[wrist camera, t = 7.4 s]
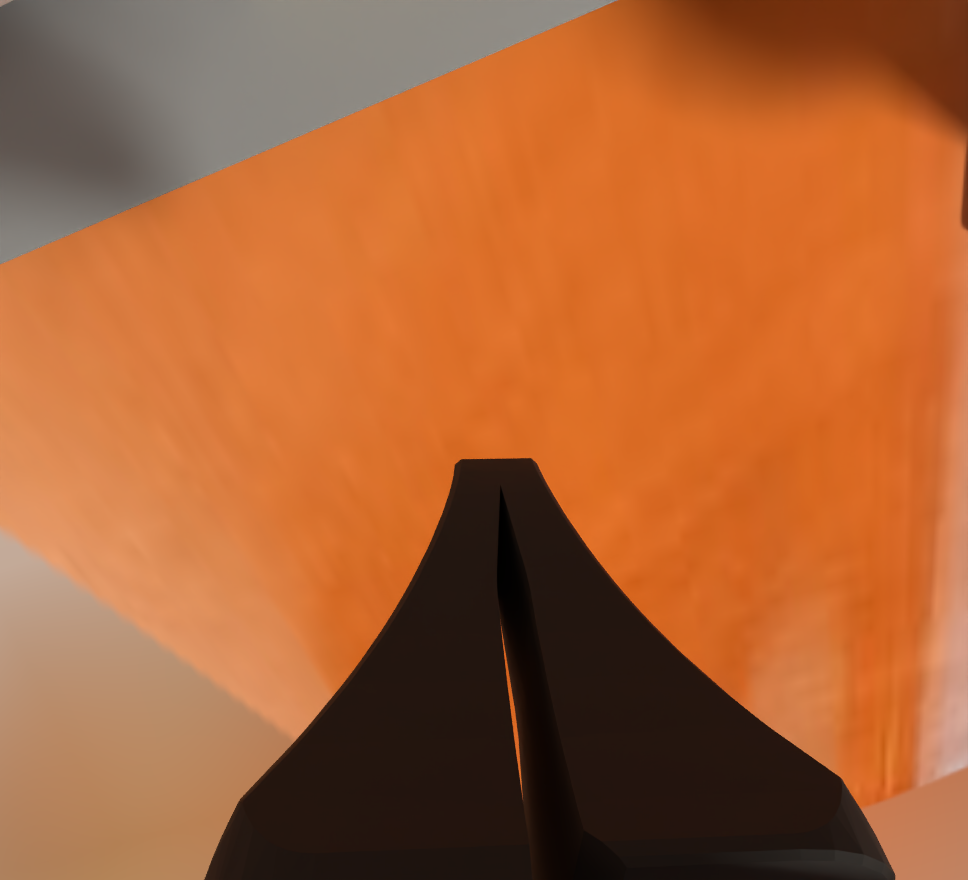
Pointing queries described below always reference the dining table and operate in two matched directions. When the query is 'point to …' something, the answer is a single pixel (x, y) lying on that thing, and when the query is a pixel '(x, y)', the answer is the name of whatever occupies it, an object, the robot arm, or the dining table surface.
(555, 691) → the robot arm
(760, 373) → the dining table surface
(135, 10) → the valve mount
